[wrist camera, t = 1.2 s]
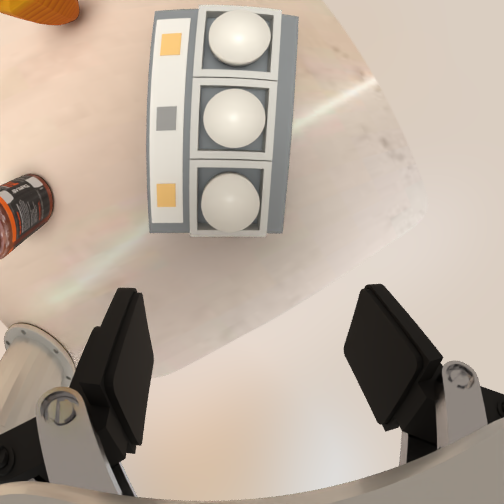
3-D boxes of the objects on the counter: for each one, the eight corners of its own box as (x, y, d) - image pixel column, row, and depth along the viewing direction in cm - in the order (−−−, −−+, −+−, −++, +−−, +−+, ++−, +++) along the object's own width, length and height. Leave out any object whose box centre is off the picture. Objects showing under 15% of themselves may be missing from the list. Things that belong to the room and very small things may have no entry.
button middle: (259, 146, 23) (263, 149, 21) (203, 145, 22) (202, 147, 20) (262, 93, 21) (267, 90, 19) (205, 90, 20) (204, 87, 18)
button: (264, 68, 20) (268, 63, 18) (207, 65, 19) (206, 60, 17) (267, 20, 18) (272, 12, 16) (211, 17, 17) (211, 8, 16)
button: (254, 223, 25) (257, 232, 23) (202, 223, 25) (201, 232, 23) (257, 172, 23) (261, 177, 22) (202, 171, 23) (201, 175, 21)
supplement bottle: (38, 161, 23) (-32, 191, 13) (64, 209, 26) (4, 258, 16) (7, 191, 24) (-59, 229, 14) (30, 235, 26) (-26, 286, 16)
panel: (277, 224, 29) (286, 240, 26) (154, 223, 28) (146, 240, 24) (291, 24, 21) (304, 10, 17) (160, 19, 19) (151, 4, 16)
